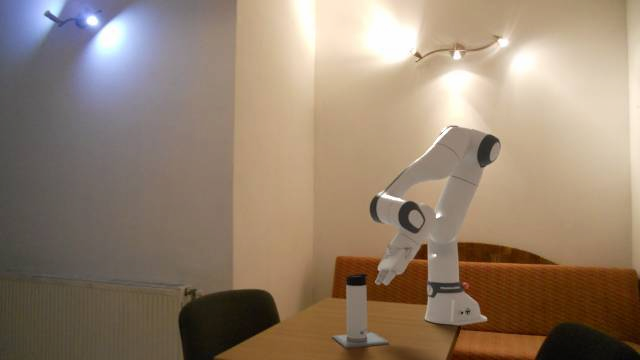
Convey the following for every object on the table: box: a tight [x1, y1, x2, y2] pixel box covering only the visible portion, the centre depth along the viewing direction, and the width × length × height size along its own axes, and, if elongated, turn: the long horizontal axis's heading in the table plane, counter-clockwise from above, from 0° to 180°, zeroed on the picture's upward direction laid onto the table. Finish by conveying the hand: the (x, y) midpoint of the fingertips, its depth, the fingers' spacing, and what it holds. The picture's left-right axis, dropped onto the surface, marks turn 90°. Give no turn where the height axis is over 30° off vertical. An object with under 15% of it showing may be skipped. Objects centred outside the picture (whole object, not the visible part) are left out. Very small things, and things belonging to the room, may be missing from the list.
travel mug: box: [345, 273, 368, 342], centre depth 141 cm, size 6×7×20 cm
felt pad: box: [331, 331, 390, 349], centre depth 141 cm, size 14×12×1 cm
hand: (380, 283), depth 147 cm, fingers open, 8 cm apart
